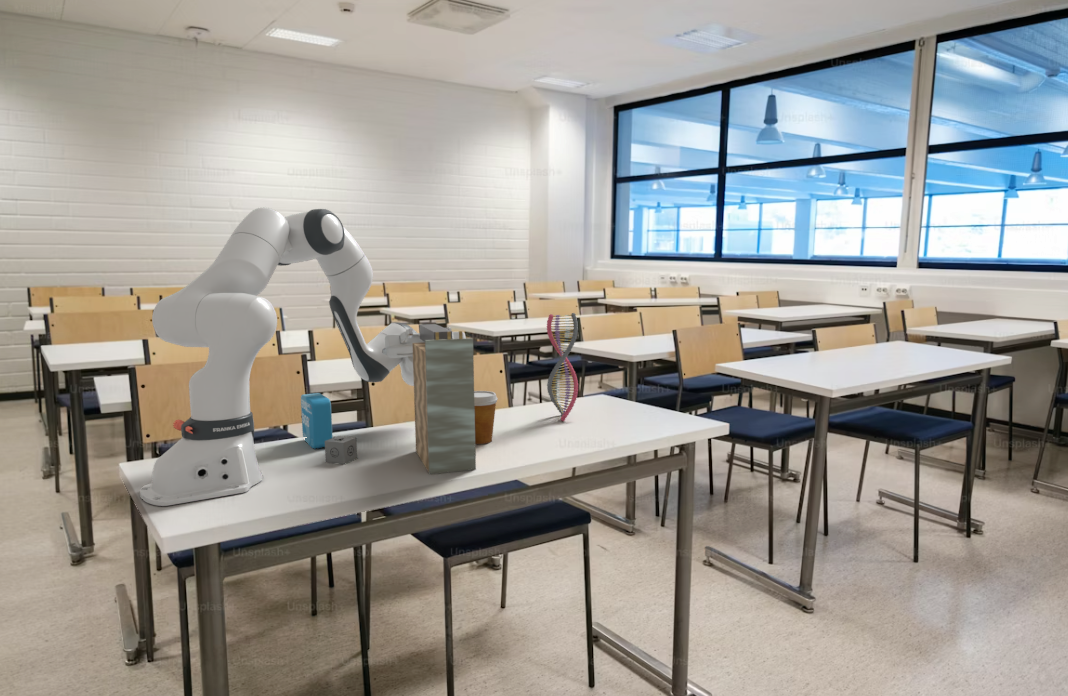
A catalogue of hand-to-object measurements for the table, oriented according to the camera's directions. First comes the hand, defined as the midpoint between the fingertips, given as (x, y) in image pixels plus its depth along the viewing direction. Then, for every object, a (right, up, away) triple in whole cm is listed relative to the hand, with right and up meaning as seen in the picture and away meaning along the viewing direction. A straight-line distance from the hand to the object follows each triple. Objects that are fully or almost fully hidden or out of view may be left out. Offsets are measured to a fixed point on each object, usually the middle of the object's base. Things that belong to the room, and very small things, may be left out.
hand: (429, 330), depth 169 cm
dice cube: (-19, -30, -10) cm, 37 cm away
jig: (+5, -30, -10) cm, 32 cm away
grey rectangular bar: (+2, -3, -7) cm, 8 cm away
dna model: (+34, -24, +31) cm, 52 cm away
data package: (-29, -28, +5) cm, 41 cm away
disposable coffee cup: (+12, -28, +6) cm, 31 cm away
